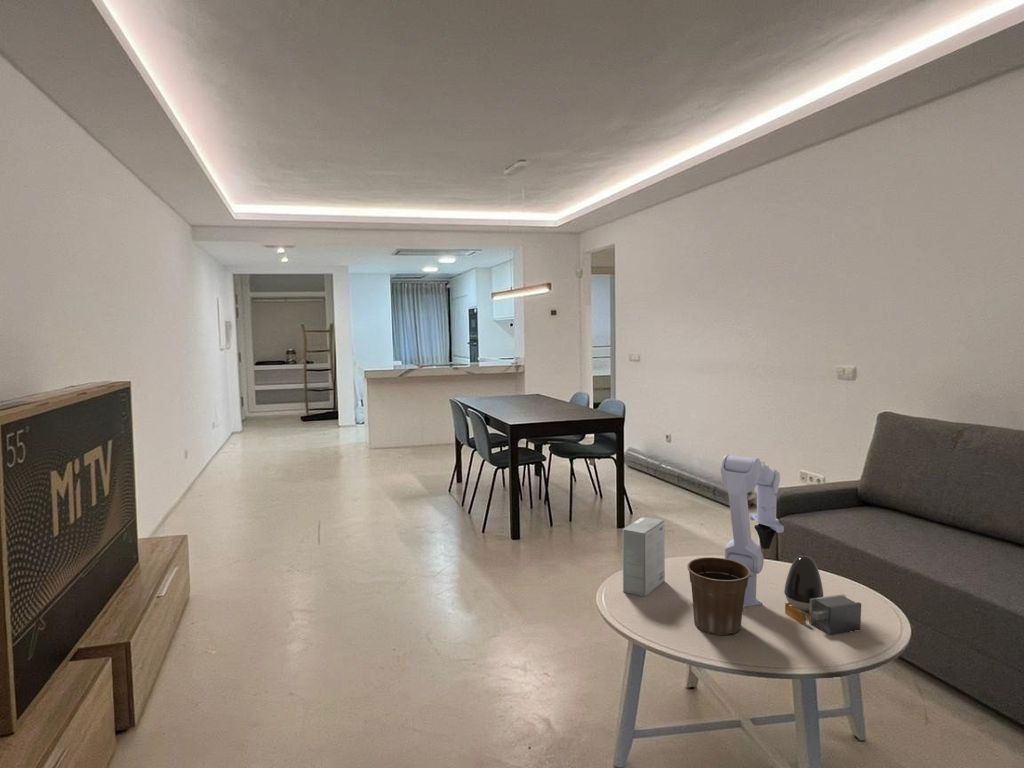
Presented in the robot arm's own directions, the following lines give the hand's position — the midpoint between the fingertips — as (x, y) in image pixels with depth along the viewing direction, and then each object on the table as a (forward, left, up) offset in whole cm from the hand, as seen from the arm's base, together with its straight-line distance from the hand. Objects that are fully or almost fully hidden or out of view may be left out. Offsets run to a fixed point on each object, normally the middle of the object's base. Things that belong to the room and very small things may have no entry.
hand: (765, 548), depth 205 cm
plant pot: (-32, -24, -11) cm, 41 cm away
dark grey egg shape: (-2, -21, -11) cm, 23 cm away
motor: (-2, -30, -10) cm, 32 cm away
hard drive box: (-39, +6, -11) cm, 41 cm away
